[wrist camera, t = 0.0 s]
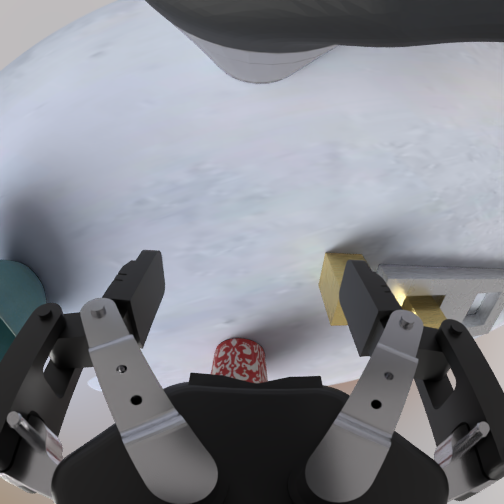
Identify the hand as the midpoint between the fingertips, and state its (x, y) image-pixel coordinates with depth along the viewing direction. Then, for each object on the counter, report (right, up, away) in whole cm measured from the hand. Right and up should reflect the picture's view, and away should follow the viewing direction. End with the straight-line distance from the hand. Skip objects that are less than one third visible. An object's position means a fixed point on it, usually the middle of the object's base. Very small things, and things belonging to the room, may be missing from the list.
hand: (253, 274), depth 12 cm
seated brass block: (+22, -6, +23) cm, 33 cm away
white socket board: (+29, -6, +24) cm, 38 cm away
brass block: (+10, -1, +21) cm, 23 cm away
